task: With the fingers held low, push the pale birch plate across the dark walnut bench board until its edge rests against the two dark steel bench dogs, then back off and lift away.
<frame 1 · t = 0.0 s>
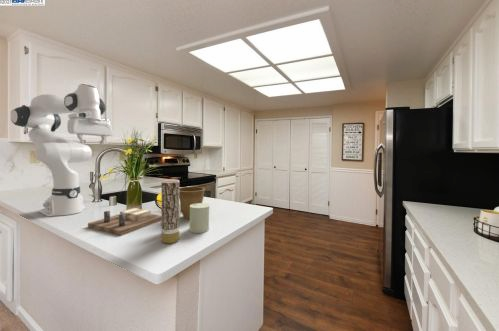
hand: (92, 144, 113), 39 cm above the countertop, tool pointing down, fingers open, 8 cm apart
beer glass: (172, 232, 100), on the countertop
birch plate: (135, 216, 113), point 2 cm above the countertop, touching bench board
bench board: (127, 223, 109), on the countertop
plant pot: (190, 217, 122), on the countertop
can: (199, 229, 104), on the countertop
grey patterned cylinder: (170, 241, 91), on the countertop
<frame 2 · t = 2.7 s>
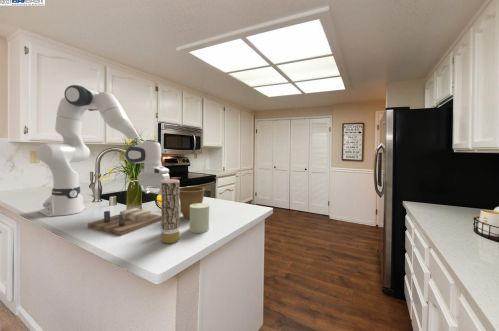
hand: (153, 193, 123), 12 cm above the countertop, tool pointing down, fingers open, 8 cm apart
nothing on the countertop moved.
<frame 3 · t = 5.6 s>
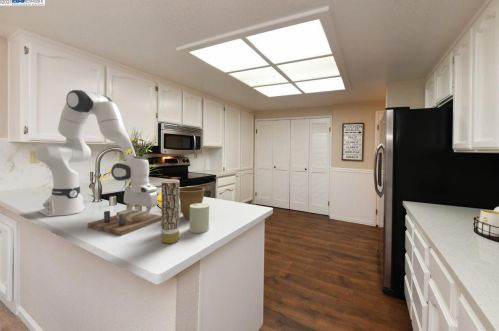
hand: (140, 213, 116), 3 cm above the countertop, tool pointing down
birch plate: (132, 218, 112), point 2 cm above the countertop, touching gripper
everything else where it was.
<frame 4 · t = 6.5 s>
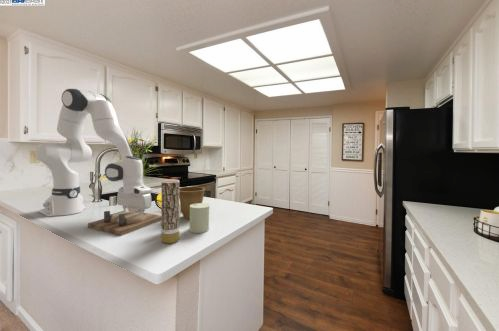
hand: (133, 215, 112), 3 cm above the countertop, tool pointing down
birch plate: (125, 220, 108), point 2 cm above the countertop, touching gripper
everything else where it was.
when the fingers open (3 cm above the countertop, at t = 7.5 s): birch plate stays where it is, resting on bench board.
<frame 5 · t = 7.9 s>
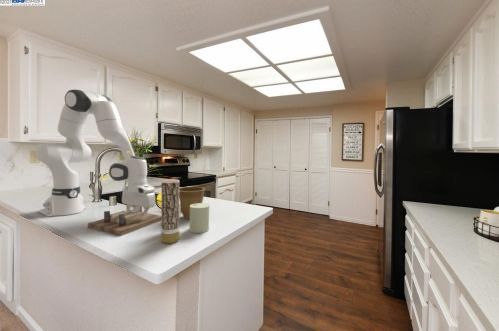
hand: (138, 214, 115), 3 cm above the countertop, tool pointing down, fingers open, 8 cm apart
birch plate: (124, 220, 108), point 2 cm above the countertop, touching bench board
everything else where it was.
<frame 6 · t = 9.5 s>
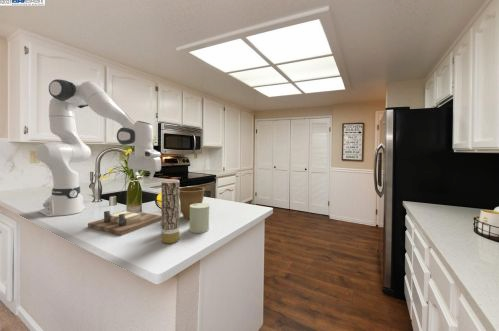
hand: (143, 178, 117), 21 cm above the countertop, tool pointing down, fingers open, 8 cm apart
nothing on the countertop moved.
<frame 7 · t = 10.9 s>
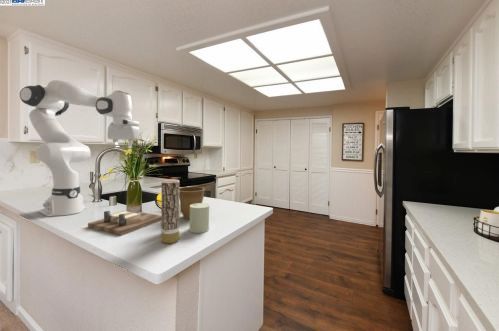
hand: (123, 148, 119), 37 cm above the countertop, tool pointing down, fingers open, 8 cm apart
nothing on the countertop moved.
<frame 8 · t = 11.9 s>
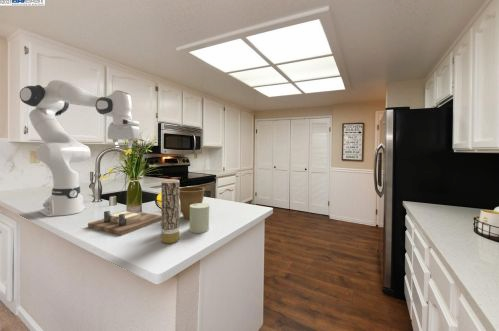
hand: (123, 148, 119), 37 cm above the countertop, tool pointing down, fingers open, 8 cm apart
nothing on the countertop moved.
at the end: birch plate 0.2 cm from the target spot, point 2.0 cm above the countertop; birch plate tilted 0° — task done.
